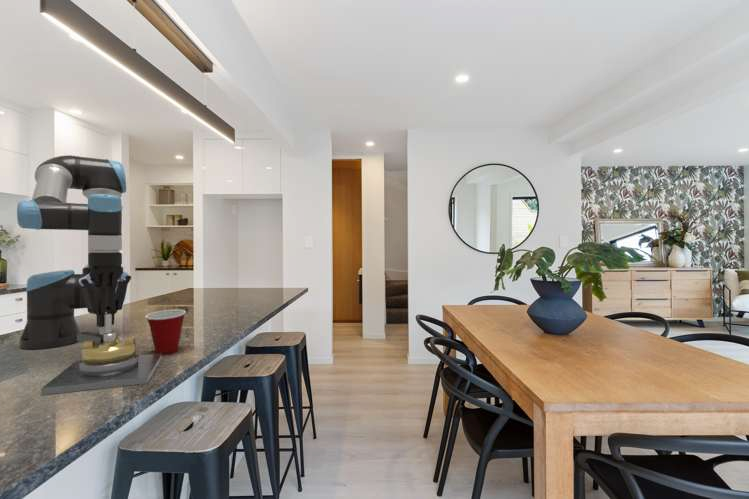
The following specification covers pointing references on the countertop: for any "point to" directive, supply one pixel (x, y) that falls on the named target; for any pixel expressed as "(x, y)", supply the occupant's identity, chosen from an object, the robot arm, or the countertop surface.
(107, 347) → the brass dial with lever
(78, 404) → the countertop surface
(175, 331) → the plastic cup
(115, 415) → the countertop surface
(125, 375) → the flange plate
